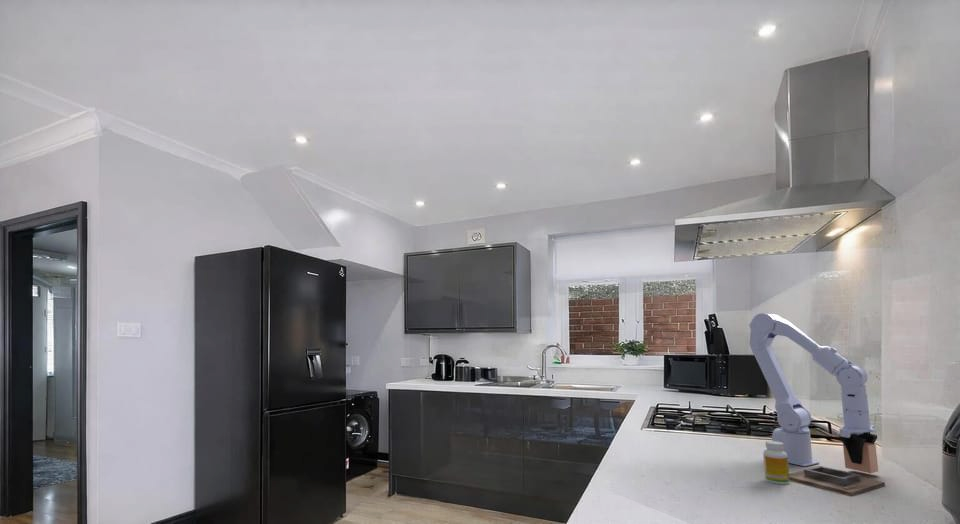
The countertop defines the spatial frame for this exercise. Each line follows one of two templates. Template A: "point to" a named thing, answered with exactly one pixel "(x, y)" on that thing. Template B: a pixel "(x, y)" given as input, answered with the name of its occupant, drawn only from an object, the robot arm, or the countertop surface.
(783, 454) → the supplement bottle
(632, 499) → the countertop surface
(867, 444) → the plug block
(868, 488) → the socket board
